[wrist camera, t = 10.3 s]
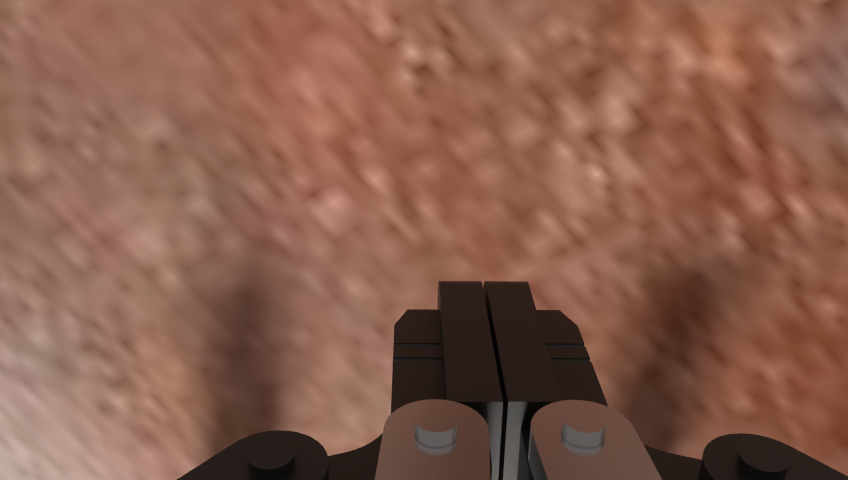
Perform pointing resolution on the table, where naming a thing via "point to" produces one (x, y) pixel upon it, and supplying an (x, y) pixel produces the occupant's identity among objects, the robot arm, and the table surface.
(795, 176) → the table surface
